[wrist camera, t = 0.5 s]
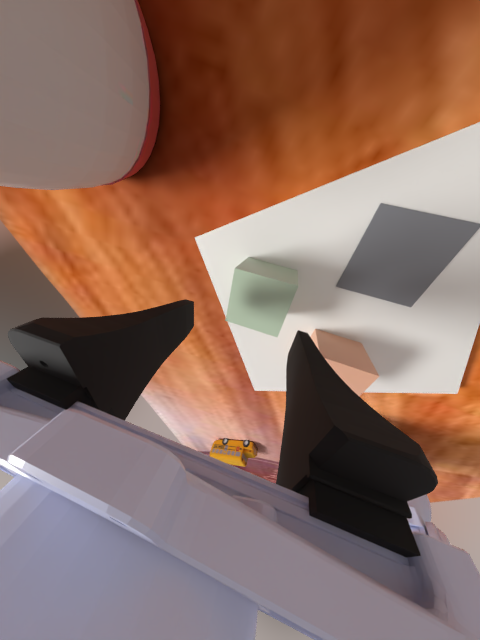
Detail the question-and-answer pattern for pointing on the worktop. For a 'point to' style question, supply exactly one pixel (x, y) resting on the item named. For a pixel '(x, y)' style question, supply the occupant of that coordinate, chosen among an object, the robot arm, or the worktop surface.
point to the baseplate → (372, 266)
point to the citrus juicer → (75, 93)
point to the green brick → (261, 295)
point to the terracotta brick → (346, 360)
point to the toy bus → (233, 451)
